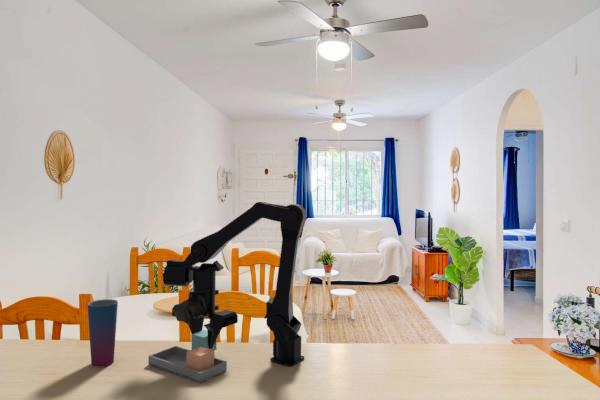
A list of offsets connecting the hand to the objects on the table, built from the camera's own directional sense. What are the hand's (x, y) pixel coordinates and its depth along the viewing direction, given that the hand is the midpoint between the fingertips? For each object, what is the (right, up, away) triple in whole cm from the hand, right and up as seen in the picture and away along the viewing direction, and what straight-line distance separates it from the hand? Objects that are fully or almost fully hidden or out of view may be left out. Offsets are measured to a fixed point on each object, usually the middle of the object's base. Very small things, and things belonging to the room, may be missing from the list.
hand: (203, 346), depth 115 cm
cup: (-24, -2, -7) cm, 25 cm away
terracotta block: (+2, -2, -11) cm, 12 cm away
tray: (-2, -2, -9) cm, 9 cm away
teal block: (0, -1, 0) cm, 1 cm away
